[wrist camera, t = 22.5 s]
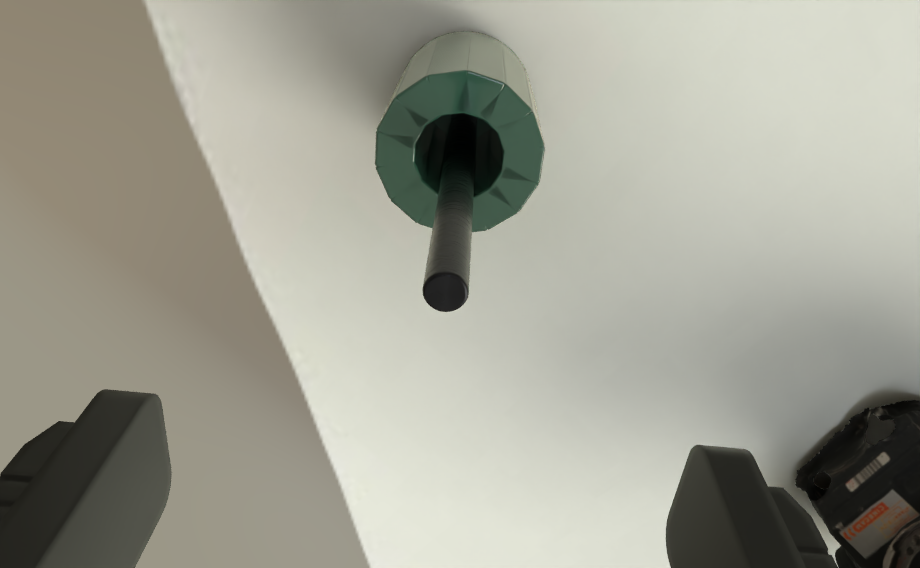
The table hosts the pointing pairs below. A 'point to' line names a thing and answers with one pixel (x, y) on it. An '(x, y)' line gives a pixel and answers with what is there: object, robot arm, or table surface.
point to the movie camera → (871, 490)
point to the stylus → (453, 220)
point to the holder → (428, 119)
